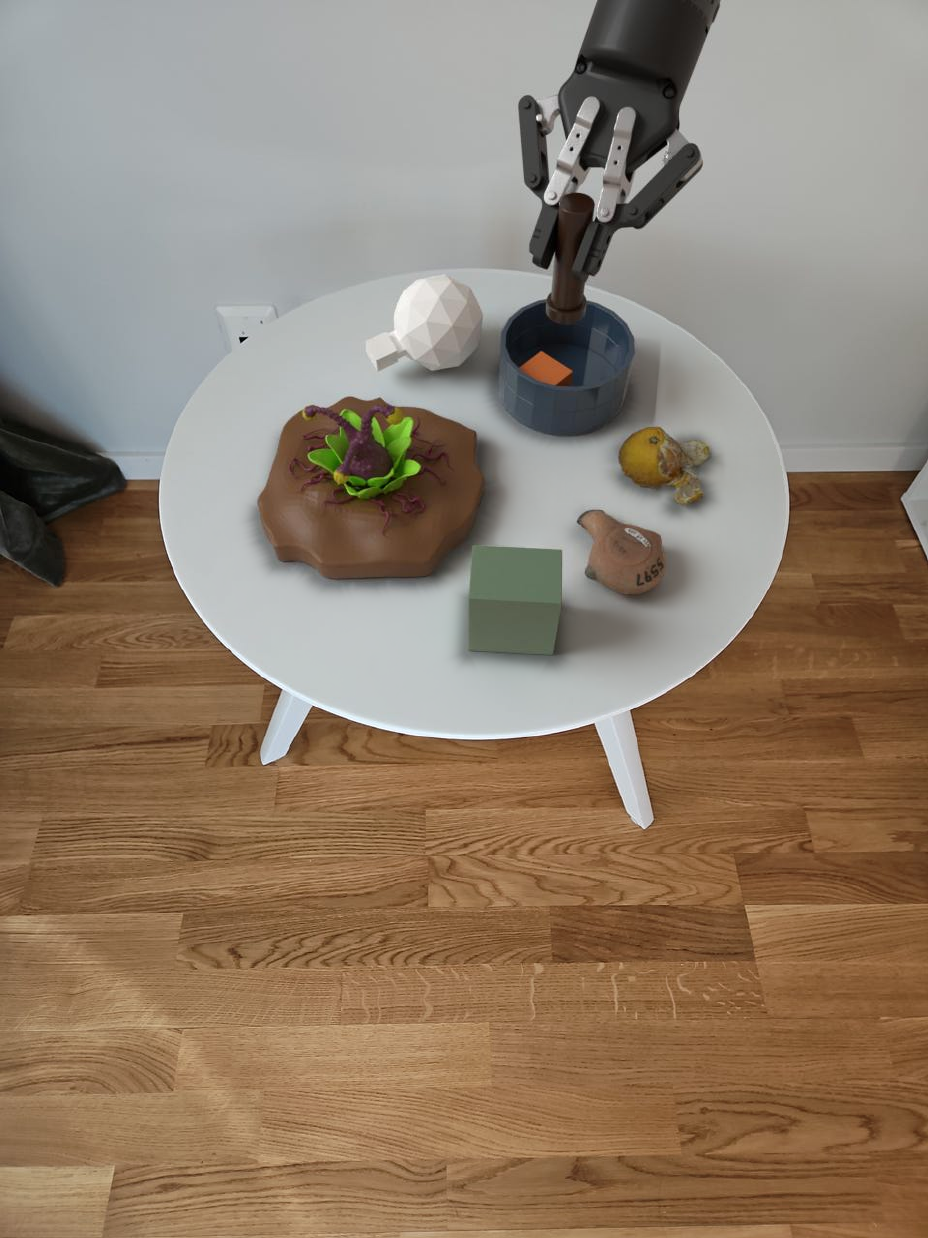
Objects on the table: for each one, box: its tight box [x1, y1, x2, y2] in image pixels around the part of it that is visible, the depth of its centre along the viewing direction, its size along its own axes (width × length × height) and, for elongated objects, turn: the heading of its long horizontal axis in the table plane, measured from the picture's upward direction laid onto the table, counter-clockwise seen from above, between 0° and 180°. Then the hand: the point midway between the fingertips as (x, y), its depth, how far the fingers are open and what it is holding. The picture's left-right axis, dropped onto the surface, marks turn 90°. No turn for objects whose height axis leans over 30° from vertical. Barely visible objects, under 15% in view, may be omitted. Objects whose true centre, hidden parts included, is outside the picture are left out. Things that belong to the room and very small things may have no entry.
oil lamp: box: [576, 509, 667, 595], centre depth 78 cm, size 9×4×8 cm
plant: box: [257, 395, 485, 580], centre depth 78 cm, size 20×20×11 cm
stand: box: [467, 544, 563, 656], centre depth 72 cm, size 7×5×8 cm
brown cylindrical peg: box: [546, 192, 596, 324], centre depth 64 cm, size 3×3×9 cm
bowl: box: [497, 298, 636, 437], centre depth 87 cm, size 13×13×6 cm
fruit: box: [617, 426, 710, 506], centre depth 83 cm, size 8×8×4 cm
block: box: [519, 351, 573, 387], centre depth 86 cm, size 4×4×4 cm
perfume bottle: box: [364, 273, 484, 373], centre depth 88 cm, size 9×9×12 cm
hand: (559, 271), depth 63 cm, fingers closed on brown cylindrical peg, 2 cm apart
